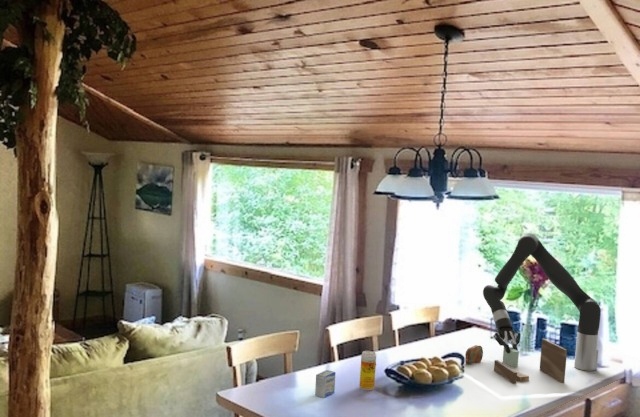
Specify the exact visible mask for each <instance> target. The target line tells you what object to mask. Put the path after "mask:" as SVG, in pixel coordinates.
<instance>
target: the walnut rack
mask: <svg viewBox="0 0 640 417" xmlns="http://www.w3.org/2000/svg"><path fill="white" fill-rule="evenodd" d="M541 339H542V340H541V349H540V360H539V371H540V372H542V373H544V374H546V376H548V377H551V379H552V378H553V379H554V380H556V381H557V382H559V383H561V384H565V378H566V367H567V356H568V354H567V353H568V349H566V348H565V347H562V346H561V345H558V344H556V343H555V342H552V341H550V340H548V339H547V338H541ZM493 364H494V365H493V371H494V372H495V373H497V374H498V375H500V376H501V377H503V378H504V379H506V380H507V381H508V382H510V383H512V384H517V382H518V381H517V372H515V371H514V370H515V369H514V370H512V369H513V368H511V367H510V366H507V364H504V362H502V361H500V360H498V359H494V363H493Z"/></svg>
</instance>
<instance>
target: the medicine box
mask: <svg viewBox="0 0 640 417" xmlns="http://www.w3.org/2000/svg"><path fill="white" fill-rule="evenodd" d="M335 388H336V371H332V370H327V369H326V370H324V371H321V372H319V373H317V374H316V375H315V390H314V396H316V397H319V398H323V399H325V398H327V397H329V396H331V395H333V394H335Z"/></svg>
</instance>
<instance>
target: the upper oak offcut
mask: <svg viewBox="0 0 640 417" xmlns="http://www.w3.org/2000/svg"><path fill="white" fill-rule="evenodd" d="M511 369H512V370H514V371H515V372H517V382H518V383H519V382H528V381H529V380H530V376H529V375H527V374H525V373H523V372H520V371H518V370H516V369H513V368H511Z"/></svg>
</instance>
